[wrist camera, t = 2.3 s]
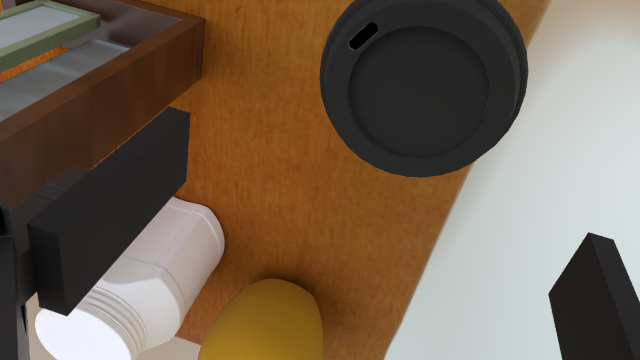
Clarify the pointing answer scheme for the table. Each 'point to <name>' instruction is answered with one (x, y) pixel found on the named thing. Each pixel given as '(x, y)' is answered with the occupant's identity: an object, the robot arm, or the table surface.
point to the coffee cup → (423, 81)
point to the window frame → (94, 91)
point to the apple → (266, 325)
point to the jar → (140, 289)
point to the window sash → (40, 29)
